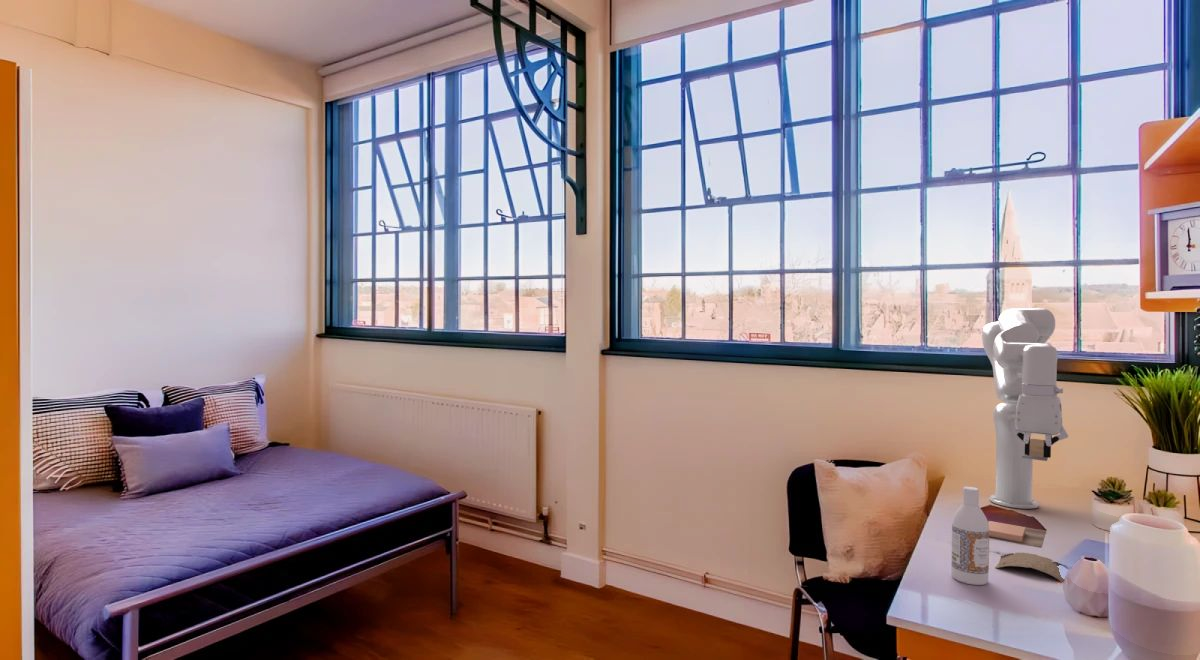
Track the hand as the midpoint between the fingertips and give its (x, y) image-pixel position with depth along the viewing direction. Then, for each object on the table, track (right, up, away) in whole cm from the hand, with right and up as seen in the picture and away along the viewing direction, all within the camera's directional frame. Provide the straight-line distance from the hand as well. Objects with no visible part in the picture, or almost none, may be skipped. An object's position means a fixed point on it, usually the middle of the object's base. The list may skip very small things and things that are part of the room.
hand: (1037, 458), depth 168 cm
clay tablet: (-20, -21, -26) cm, 38 cm away
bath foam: (-37, -20, -32) cm, 53 cm away
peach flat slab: (-10, -17, -3) cm, 21 cm away
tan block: (-2, 0, -2) cm, 3 cm away
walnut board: (-11, -20, -6) cm, 23 cm away
